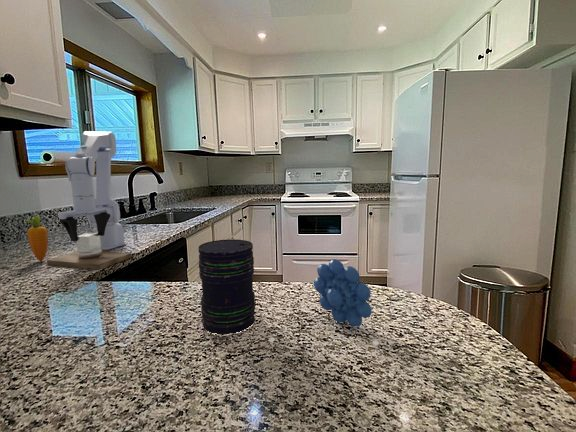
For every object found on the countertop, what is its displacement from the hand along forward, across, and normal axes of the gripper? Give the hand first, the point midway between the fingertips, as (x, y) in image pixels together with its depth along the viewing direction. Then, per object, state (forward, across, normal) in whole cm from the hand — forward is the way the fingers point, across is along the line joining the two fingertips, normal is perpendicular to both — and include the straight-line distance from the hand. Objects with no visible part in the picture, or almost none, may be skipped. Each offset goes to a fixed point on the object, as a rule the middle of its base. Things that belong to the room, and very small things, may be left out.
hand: (88, 238), depth 96 cm
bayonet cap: (+6, 0, 0) cm, 6 cm away
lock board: (+8, 0, 0) cm, 8 cm away
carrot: (+8, -7, +15) cm, 18 cm away
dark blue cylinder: (+8, -15, -66) cm, 68 cm away
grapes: (+7, -7, -85) cm, 85 cm away
